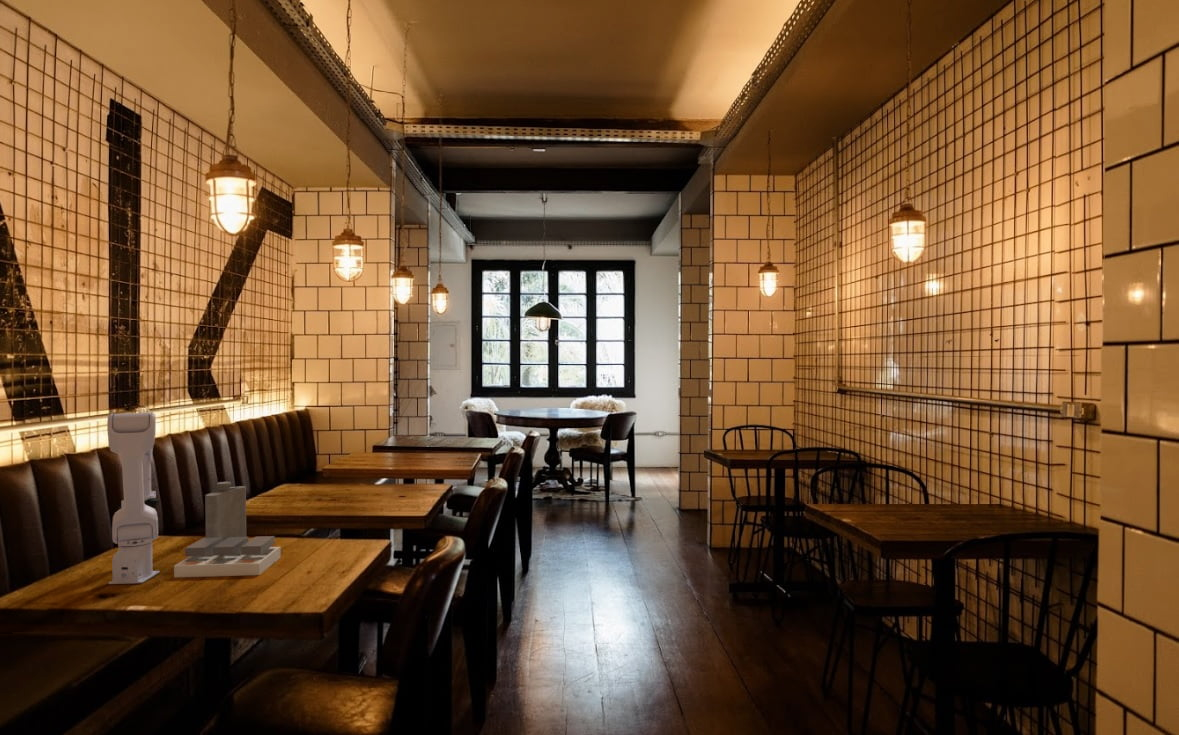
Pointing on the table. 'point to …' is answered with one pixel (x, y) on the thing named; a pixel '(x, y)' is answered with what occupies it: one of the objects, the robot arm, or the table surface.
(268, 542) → the button
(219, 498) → the hip flask
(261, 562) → the switch unit
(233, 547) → the button middle
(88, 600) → the table surface
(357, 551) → the table surface
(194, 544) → the button
